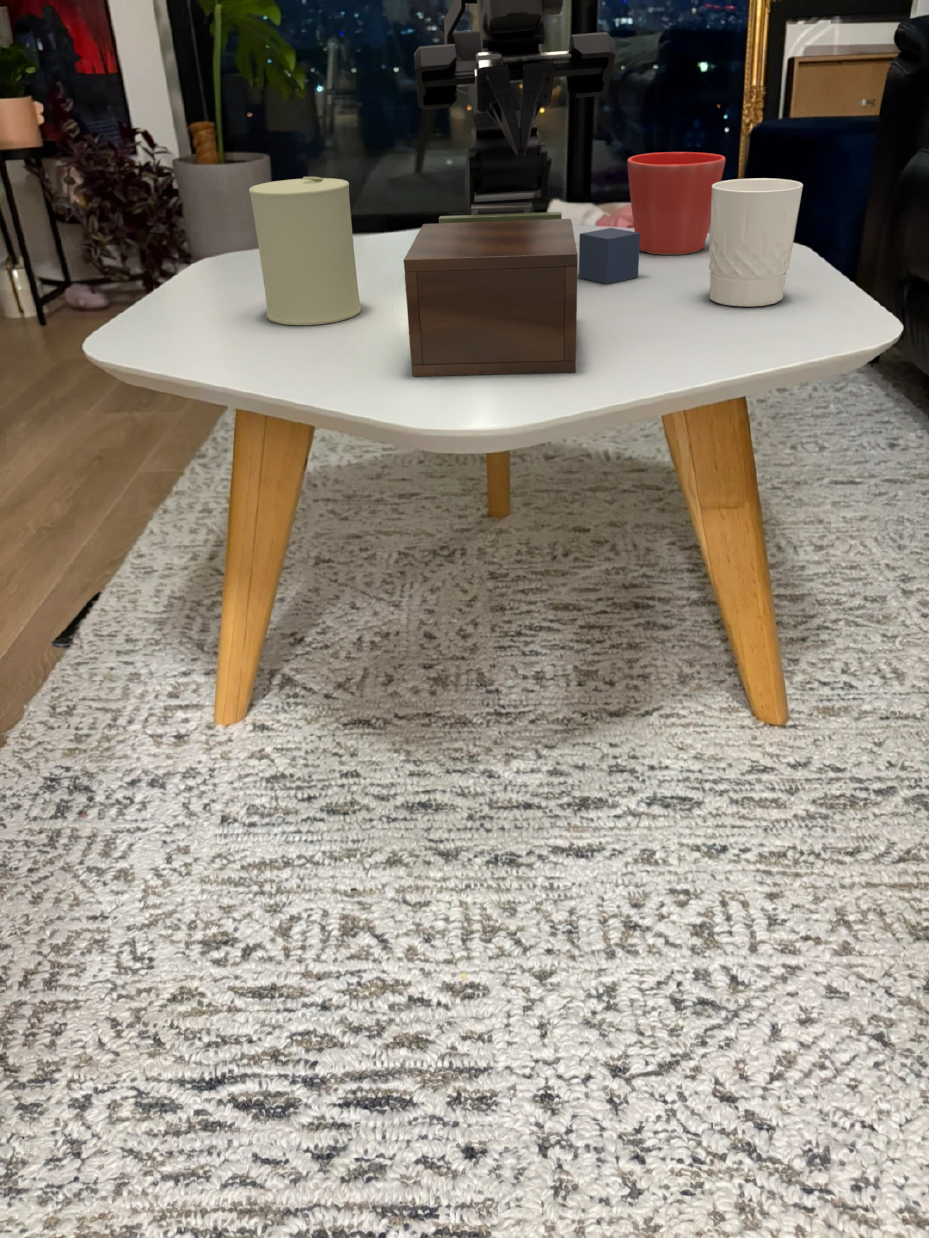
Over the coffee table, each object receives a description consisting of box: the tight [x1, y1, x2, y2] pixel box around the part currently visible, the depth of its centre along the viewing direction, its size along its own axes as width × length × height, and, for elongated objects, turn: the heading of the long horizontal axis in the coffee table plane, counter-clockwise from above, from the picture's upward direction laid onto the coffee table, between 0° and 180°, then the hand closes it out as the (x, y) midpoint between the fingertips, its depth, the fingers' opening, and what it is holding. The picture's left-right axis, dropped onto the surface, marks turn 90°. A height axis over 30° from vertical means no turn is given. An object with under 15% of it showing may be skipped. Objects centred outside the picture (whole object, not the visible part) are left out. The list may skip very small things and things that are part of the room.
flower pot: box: [626, 151, 726, 256], centre depth 111 cm, size 11×11×10 cm
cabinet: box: [403, 218, 579, 377], centre depth 80 cm, size 15×13×9 cm
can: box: [248, 176, 362, 326], centre depth 92 cm, size 9×9×12 cm
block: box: [578, 227, 640, 285], centre depth 102 cm, size 4×4×4 cm
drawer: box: [438, 202, 563, 224], centre depth 91 cm, size 18×12×7 cm, turn 177°
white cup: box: [708, 177, 804, 308], centre depth 90 cm, size 8×8×10 cm
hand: (521, 153), depth 92 cm, fingers closed
